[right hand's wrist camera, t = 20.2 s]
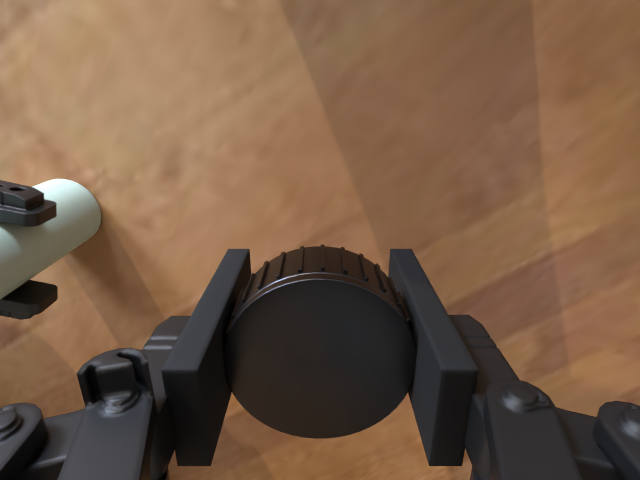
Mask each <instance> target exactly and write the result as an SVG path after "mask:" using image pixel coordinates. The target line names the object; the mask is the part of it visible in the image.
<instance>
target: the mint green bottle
mask: <svg viewBox="0 0 640 480" xmlns="http://www.w3.org/2000/svg"><path fill="white" fill-rule="evenodd" d="M33 187H34V188H36V189H38V190H39V191H41V192H43V193H44V199H46V200H51V201H54V202H56V204H57V216H56V217H55V218H53V219H51V220H49V221H47V222H45V223H43V224H41V225H39V226H35V227H24V226H19V225H14V224H9V223H5V222H0V299H2V298H3V297H5V296H6V295H8V294H9V293H11V292H12V291H13V290H15V289H16V288H18V287H19V286H21V285H22V284H24V283H25V282H27V281H28V280H30V279H31V278H33V277H34V276H35V275H37V274H38V273H40V272H41V271H43V270H44V269H46V268H47V267H49V266H50V265H52V264H53V263H55V262H56V261H57V260H59V259H60V258H62V257H63V256H65V255H66V254H68V253H69V252H71V251H72V250H74V249H75V248H77V247H78V246H79V245H81V244H82V243H84V242H85V241H87V240H88V239H90V238H91V237H92V236H94V235H95V234H96V232H97V231H98V229H99V227H100V223H101V211H100V208H99V205H98V203H97V201H96V199H95V198H94V196H93V195H92V194H91V193H90V192H89V191H88V190H87V189H86V188H84V187H83V186H81V185H80V184H78V183H76V182H73V181H70V180H66V179H53V180H50V181H47V182H44V183H41V184H39V185H36V186H33Z"/></svg>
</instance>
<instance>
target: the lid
mask: <svg viewBox="0 0 640 480" xmlns="http://www.w3.org/2000/svg"><path fill="white" fill-rule="evenodd" d="M410 322H411V320H410V317H409V315H408V312H407V309H406V307H405V304H404V302H403V299H402V297H401V294H400V292H397V291H396V288H395V286H394V283H393V280H392V278H391V277H387V276H386V274H385V273H384V272H383V271H382V270H381V269H380V266H379V265H378V264H376V265H375V264H373V263H372V262H371V261H369V260H368V259H366V258H364V256H363V254H361V253H360V254H359V255H358V254H356V253H353V252H351V251H348V250H345V248H344V247H341V249H340V248H334V247H326V246H325V247H324V245H321V247H306V248H304V246H301V247H300V249H296V250H292V251H290V252H287V253H285V252H282V253H281V255H280V256H278V257H276V258H274V259H272V260H271V261H269V262H268V261H266V262H264V265H263V267H262V268H261V269H260V270H259V271H257V272H256V273H255V274H254V273H252V274H251V276H250V279H249V282H248V284H247V286H246V288H242V290H241V292H240V295H239V297H238V300H237V303H236V305H235V308H234V310H233V313H232V316H231V321H230V323H229V326H228V329H227V331H226V336H227V337H226V341H225V345H224V352H223V359H224V369H225V375H226V379H227V382H228V384H229V386H230V389H231V391H232V393H233V394H234V396H235V397H236V399H237V400H238V402H239V403H240V404H241V405H242V406H243V408H244V409H246V410H247V411H248V412H249V413H250V414H251V415H252V416H253V417H255V418H256V419H258V420H259V421H260V422H262V423H264V424H266V425H267V426H269V427H271V428H273V429H276V430H278V431H280V432H283V433H287V434H290V435H294V436H299V437H305V438H335V437H341V436H346V435H350V434H353V433H357V432H360V431H362V430H364V429H367V428H369V427H371V426H373V425H375V424H376V423H378V422H380V421H381V420H383V419H384V418H385V417H387V416H388V415H389V414H390V413H391V412H392V411H393V410H395V409H396V408H397V406H398V405H399V404H400V403H401V402H402V400H403V399H404V398H405V396H406V394H407V393H408V391H409V389H410V387H411V384H412V382H413V379H414V375H415V366H416V356H417V349H416V345H415V340H414V337H413V334H412V331H411V329H410V326H409V323H410Z"/></svg>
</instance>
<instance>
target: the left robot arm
mask: <svg viewBox="0 0 640 480" xmlns="http://www.w3.org/2000/svg"><path fill="white" fill-rule="evenodd" d="M56 216H57V204H56V202H54V201H51V200H46V199H44V193H43V192H41V191H39V190H38V189H36V188H34V187H29V186H25V185H20V184H13V183H11V182H6V181H1V180H0V222H5V223H9V224H14V225H19V226H24V227H35V226H39V225H41V224H43V223H45V222H47V221H49V220H51V219H53V218H55V217H56ZM57 298H58V293H57V286H56V285H53V284H48V283H43V282H38V281H32V280H28V281H27V282H25V283H24V284H22V285H21V286H19V287H18V288H16V289H15V290H13V291H12V292H11V293H9V294H8V295H6V296H5V297H3V298H2V299H0V316H2V315H3V316H5V317H11V318H16V319H28V318H31V317H32V316H34V315H36V314H39V313H41V312H43V311H44V310H45V309H46V308H48V307H49V306H50V305H51V304H52V303H54V302H55V301H56V300H57Z"/></svg>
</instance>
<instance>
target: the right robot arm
mask: <svg viewBox="0 0 640 480" xmlns="http://www.w3.org/2000/svg"><path fill="white" fill-rule="evenodd" d="M250 276H251V265H250V250H249V249H228V251H227V252H226V254H225V256H224V258H223V260H222V261H221V263H220V265H219V267H218V268H217V270H216V272H215V274H214V276H213V277H212V279H211V281H210V283H209V285H208V286H207V288H206V290H205V292H204V294H203V295H202V297H201V299H200V301H199V303H198V304H197V306H196V308H195V310H194V312H193V313H192V315H191V316H171V317H170V318H168V319H167V320H165V321H164V322H163V323H161V324H160V325H158V326H157V328H156V329H155V331H154V332H153V334H152V335H151V337H150V340H148V341H147V343H146V344H145V346H144V348H143V350H137V349H133V348H120V349H115V350H111V351H107V352H104V353H102V354H100V355H98V356H95V357H93V358H92V359H91V360H89V361H88V362H86V363H85V364H84V365H83V366H82V367H81V368H80V370H79V371H78V372H77V377H78V380H79V384H80V388H81V391H82V395H83V399H84V403H85V408H84V409H82V410H78V411H75V412H71V413H67V414H62V415H58V416H54V417H49V418H45V419H44V418H43V415H42V412H41V409H40V408H38V407H37V406H36V405H35V404H29V403H18V404H11V405H7V406H4V407H2V408H0V480H170V477H169V471H168V465H169V462H170V460H171V457H172V455H173V452H174V450H175V453H176V458H177V464H178V466H211V463H212V459H213V456H214V452H215V449H216V445H217V442H218V438H219V435H220V431H221V428H222V424H223V421H224V417H225V414H226V410H227V407H228V403H229V400H230V396H231V393H232V391H231V389H230V386H229V384H228V382H227V379H226V375H225V369H224V359H223V352H224V345H225V341H226V337H227V336H226V331H227V329H228V326H229V323H230V321H231V316H232V313H233V310H234V308H235V305H236V303H237V300H238V297H239V295H240V292H241V290H242V288H246V286H247V284H248V282H249V279H250ZM388 277H391V278H392V280H393V283H394V286H395V288H396V291H397V292H400V294H401V297H402V299H403V302H404V304H405V307H406V309H407V312H408V315H409V317H410V320H411V322H410V323H409V326H410V329H411V331H412V334H413V337H414V340H415V345H416V349H417V356H416V366H415V375H414V379H413V382H412V384H411V387H410V389H409V391H408V394H409V397H410V401H411V404H412V408H413V411H414V415H415V418H416V422H417V425H418V429H419V432H420V436H421V439H422V443H423V446H424V449H425V453H426V456H427V460H428V463H429V466H462V463H463V457H464V451H465V448H466V451H467V453H468V456H469V458H470V461H471V463H472V471H471V476H470V480H640V406H638V405H635V404H632V403H628V402H620V401H613V402H606V403H605V404H603V405H602V406H601V407H600V408H599V411H598V414H597V417H593V416H589V415H585V414H580V413H576V412H572V411H567V410H564V409H560V408H557V407H555V405H554V404H553V402H552V401H551V399H550V398H549V396H548V395H546V394H545V393H544V392H543V391H542V390H540V389H539V388H537V387H535V386H533V385H531V384H529V383H527V382H524V381H520V380H519V378H518V377H517V375H516V374H515V372H514V371H513V369H512V368H511V366H510V365H509V363H508V362H507V361H506V359H505V358H504V356H503V355H502V353H501V352H500V350H499V349H498V348H497V347H496V344H495V343H494V341H493V340H492V339H490V335H489V334H488V332H487V331H486V330H485V328H484V327H483V325H482V324H480V323H479V322H478V321H476V320H475V319H474V318H472V317H471V316H469V315H448V314H447V312H446V310H445V308H444V307H443V305H442V303H441V301H440V299H439V298H438V296H437V294H436V292H435V291H434V289H433V287H432V285H431V283H430V282H429V280H428V278H427V276H426V274H425V273H424V271H423V269H422V267H421V265H420V264H419V262H418V260H417V258H416V256H415V255H414V253H413V251H412V249H390V261H389V276H388Z"/></svg>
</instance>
